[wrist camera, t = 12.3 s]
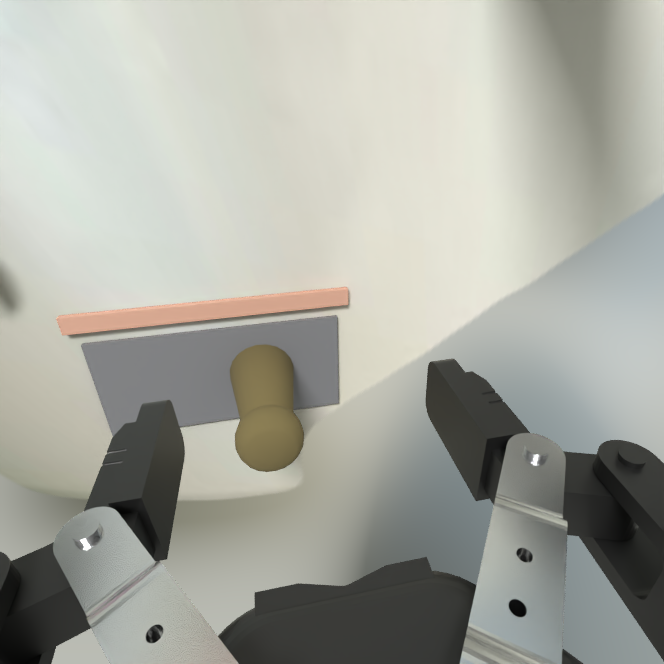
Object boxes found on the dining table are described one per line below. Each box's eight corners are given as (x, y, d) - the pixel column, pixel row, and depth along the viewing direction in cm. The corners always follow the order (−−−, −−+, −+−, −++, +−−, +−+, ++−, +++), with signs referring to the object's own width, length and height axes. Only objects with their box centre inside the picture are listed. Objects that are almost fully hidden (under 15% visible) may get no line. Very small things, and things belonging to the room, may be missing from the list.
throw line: (346, 286, 38) (348, 289, 38) (346, 302, 39) (348, 304, 39) (58, 315, 34) (56, 319, 34) (64, 332, 35) (62, 335, 34)
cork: (276, 405, 42) (289, 491, 33) (219, 386, 40) (215, 474, 31) (304, 357, 40) (327, 434, 31) (246, 334, 38) (251, 411, 29)
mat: (336, 315, 40) (337, 317, 39) (337, 400, 44) (338, 403, 44) (82, 343, 36) (81, 345, 35) (113, 433, 41) (113, 436, 40)
